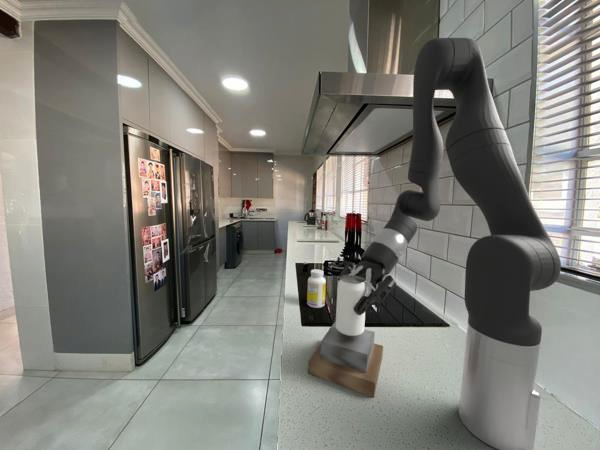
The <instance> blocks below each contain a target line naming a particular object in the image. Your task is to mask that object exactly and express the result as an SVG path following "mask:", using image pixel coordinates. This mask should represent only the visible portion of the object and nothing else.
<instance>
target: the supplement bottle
mask: <svg viewBox="0 0 600 450" xmlns="http://www.w3.org/2000/svg"><path fill="white" fill-rule="evenodd" d="M324 272H325V271H324V270H322V269H318V268H317V269H315V268H314V269H311V270H310V275H311V276H309V277H308V279H307V292H306V293H307V294H306V295H307V296H306V304H307V305H308V306H309V307H311V308H314V309H315V308H316V309H319V308H323V307H324V306H325V304H326V285H327V284H326V282H327V281H326V280H327V279H326V278H325V277H324V275H325V274H324Z"/></svg>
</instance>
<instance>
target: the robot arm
mask: <svg viewBox="0 0 600 450" xmlns="http://www.w3.org/2000/svg"><path fill="white" fill-rule="evenodd" d="M412 79H413V80H412V81H413V82H412V83H413V86H412V90H413V91H412V143H411V144H412V145H411V154H410V157H409V165H408V171H407V180H408V181H409V182H410V183H412V184H415V185H417V186H418V187H420V188H421V190H422V192H421V191H417V190H414V189H412V190H411V189H407V190H404V191H402V192H401V193H399V195H398V197H397V199H396V202H395V206H394V208H393V211H392V213H391V216H390V218H389V220H387V223H386V224H385V226H384V227H383V228H382V229H381V231H379V233H377V235H376V236H375V237H374V238H373V240H372V241H371V243H370V244H369V245H368V246H367V248H366V249H365V250H364V252H363V254H362V255H361V261H360V262H358V263H357V264H354V263H352V262H351V261H347V263H346V265H345V266H344V268H343V269H342V271H341V272H340V274H339V275H338V277H337V281H338V282H339V281H340V277H341V276H344V275H354V276H359V277H362V278H364V279H365V287H366V289H365V294H364V295H365V296H362V297H361V299H360V300H359V301H358V303H357V304H356V306H355V307H354V311H355V312H356V314H358V315H361V314H363V313H364V312H365V313H366V311H367V309H368V308H369V307H370V305H371V304H372V303H374V302H375V303H377V304H382V303H383V302H384V301H385V299H387V296H389V294H390V293H391V292H392V291H393V289H394V288H395V287H396V285H397V282H396V280H395V279H394V278H393V276H392V275H391V273H392V270H393V269H394V268H395V267H396V265H397V264H398V262H399V260H400V259H401V257H402V256H403V254H404V253H405V251H406V249H407V248H408V247H407V246H408V245H409V243H410V242H411V241H412V240H413V237H414V236H415V235H416V233H417V231H418V225H417V223H416V221H415V220H413V219H417V220H421V221H424V222H430V221H432V220H434V219H436V217H437V216H438V215H439V213H440V210H441V193H440V181H439V180H440V179H439V178H440V177H439V176H440V172H441V166H442V162H443V157H444V150H446V155H447V158H448V160H449V165H450V168H451V171H452V173H453V176H454V178H455V179H456V181H457V182H458V184H459V185H460V186H461V188H462V189H463V191H464V192H466V194H467V195H468V196H469V198H470V199H471V200H473V202H474V203H475V205H476V206H477V207H478V208H479V210H480V211H481V213H482V215H483V216H484V218H485V221H486V223H487V227H488V230H489V233H490V235H487V236H482V237H481V238H478V240H476V241H475V242H474V243H473V244H472V245H471V247H470V249H469V251H468V252H467V256H466V261H465V274H464V281H465V282H464V305H465V309H466V311H467V314H468V315H467V317H468V318H467V327H466V339H465V348H464V357H463V365H462V366H463V367H462V374H461V375H462V376H461V383H460V394H459V395H460V396H459V403H458V404H459V405H458V416H459V419H460V421H461V422H462V424H463V425H464V427H466V429H467V430H468V431H469V432H470V433H471V434H473V436H475V437H476V438H477V439H478V440H480V441H482V442H483V443H485V444H487V445H489V446H490V447H492V448H494V449H496V450H534V449H535V442H536V434H537V427H538V420H539V419H538V418H539V413H540V412H539V411H540V404H541V395H540V393H539V392H538V391H537V389H536V380H537V374H538V373H537V372H538V371H537V370H538V364H539V357H540V356H539V355H540V348H541V347H540V346H541V342H542V333H543V331H542V330H543V328H542V327H543V326H542V324H541V323H540V322H539V321H538V320H537V319H536V318H534V317H533V316H531V315H530V298H531V292H534V291H540V290H544V289H546V288H547V289H548V288H549V287H551V286H552V285H554V284H555V283H556V282H557V280H558V279H559V277H560V275H561V269H562V264H561V259H560V255H559V253H558V250H557V248H556V247H555V245H554V243H553V241H552V239H551V237H550V235H549V233H548V232H547V230H546V229H545V226H544V224H543V222H542V220H541V219H540V217H539V215H538V213H537V211H536V210H535V208H534V205H533V204H532V201H531V198H530V196H529V193H528V191H527V187H526V185H525V182H524V179H523V177H522V174H521V171H520V169H519V167H518V163H517V161H516V157H515V155H514V151H513V148H512V146H511V142H510V141H509V138H508V135H507V132H506V129H505V127H504V125H503V123H502V121H501V119H500V117H499V114H498V113H499V112H498V110H497V107H496V104H495V102H494V99H493V96H492V92H491V90H490V86H489V81H488V76H487V71H486V67H485V62H484V57H483V54H482V50H481V47H480V45H479V44H478V42H477V41H476V40H474V39H472V38H468V37H435V38H431V39H429V40H428V41H426V42H425V43H424V44H423V45H422V47H421V48H420V49H419V52H418V54H417V57H416V60H415V65H414V70H413V78H412ZM446 90H447V91H450V93H451V94H452V96H453V99H454V101H455V106H456V112H455V115H454V118H453V120H452V122H451V124H450V127H449V129H448V131H447V134H446V138H445V139H446V140H445V144H444V141H443V137H442V134H441V132H440V129H439V126H438V123H437V120H436V115H435V109H434V100H435V99H434V98H435V93H436V91H446ZM444 145H445V149H444ZM412 218H413V219H412ZM332 299H333V300H334V301H335V302H336V303H337V290H336V291H335V292H334V293H333V297H332Z"/></svg>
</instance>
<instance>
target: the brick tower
mask: <svg viewBox="0 0 600 450" xmlns="http://www.w3.org/2000/svg"><path fill="white" fill-rule="evenodd" d="M375 333H376V331H373V330H369V329H365V328H364V332H363V333H362V334H361V335H358V336H347V335H344V334H342V333H340V332H339V331H338V330H337V329H336V321H334V322H333V324H332V325H331V327H330V328H329V329H328V331H327V332H326V333H325V335H324V336H323V337H322V339H321V341H320V343H319V344H318V346H317V348H316V349H315V350H314V352H313V354H312V355H311V356H310V357H309V359H308V365H307V366H308V367H307V374H309V375H311V376H314V377H316V378H319V379H322V380H325V381H328V382H331V383H333V384H336V385H339V386H342V387H345V388H347V389H350V390H352V391H355V392H357V393H361V394H364V395H366V396H369V397H372V398H374V397H375V395H376V389H377V386H378V379H379V375H380V372H381V371H380V370H381V365H382V360H383V355H384V354H383V352H384V345H381V344H378V343H375Z"/></svg>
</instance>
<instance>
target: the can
mask: <svg viewBox="0 0 600 450" xmlns="http://www.w3.org/2000/svg"><path fill="white" fill-rule="evenodd" d="M365 289H366V287H365V279H364V278H362V277H359V276H354V275H344V276H341V277H340V281H338V283H337V289H336V291H337V302H336V311H335V312H336V313H335V322H336V329H337V330H338V331H339V332H340V333H342V334H344V335H347V336H358V335H361V334H362V333H363V332H364V329H365V324H366V323H365V322H366V311H365V312H364V313H363V314H361V315H358V314H356V312H355V311H354V307H355V306H356V304H357V303H358V301H359V300H360V299H361V297H362V296H365V295H364V294H365Z"/></svg>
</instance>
